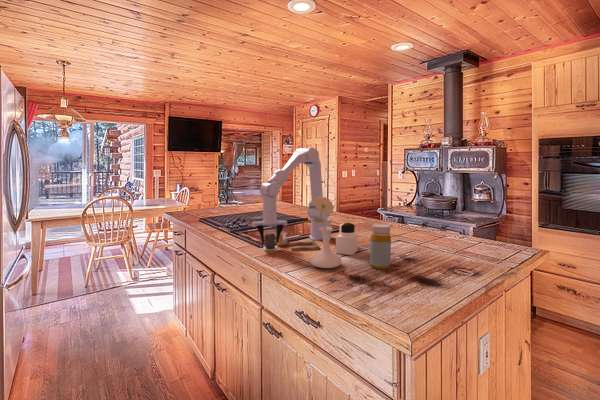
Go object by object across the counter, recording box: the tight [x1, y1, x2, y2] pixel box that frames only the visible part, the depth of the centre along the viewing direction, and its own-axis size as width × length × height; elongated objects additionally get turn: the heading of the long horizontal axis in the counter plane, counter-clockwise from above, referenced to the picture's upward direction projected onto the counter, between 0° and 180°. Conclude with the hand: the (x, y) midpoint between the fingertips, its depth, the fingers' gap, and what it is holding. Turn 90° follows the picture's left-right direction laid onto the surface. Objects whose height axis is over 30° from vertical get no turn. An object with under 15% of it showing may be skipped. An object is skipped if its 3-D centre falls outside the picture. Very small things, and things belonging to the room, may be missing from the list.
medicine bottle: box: [335, 222, 359, 256], centre depth 139 cm, size 7×7×12 cm
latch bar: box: [276, 232, 288, 247], centre depth 155 cm, size 4×10×5 cm, turn 10°
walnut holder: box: [287, 240, 321, 252], centre depth 148 cm, size 12×10×1 cm
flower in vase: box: [309, 196, 343, 269], centre depth 121 cm, size 13×11×25 cm
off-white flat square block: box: [262, 245, 278, 252], centre depth 145 cm, size 6×6×1 cm
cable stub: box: [264, 232, 276, 249], centre depth 145 cm, size 4×4×6 cm
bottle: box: [369, 223, 392, 271], centre depth 120 cm, size 7×7×15 cm
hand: (270, 242), depth 145 cm, fingers open, 5 cm apart
